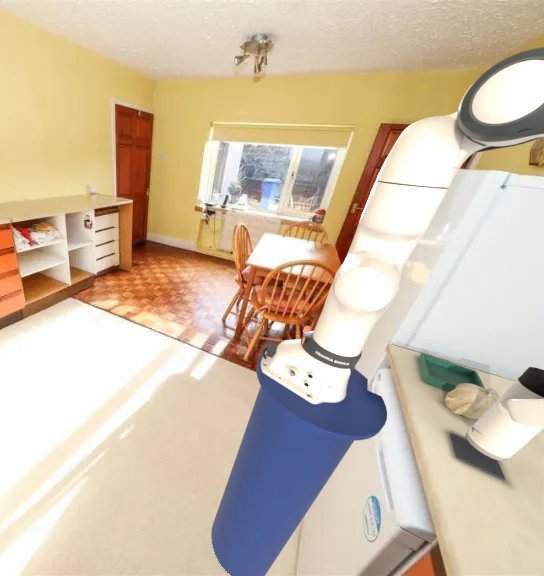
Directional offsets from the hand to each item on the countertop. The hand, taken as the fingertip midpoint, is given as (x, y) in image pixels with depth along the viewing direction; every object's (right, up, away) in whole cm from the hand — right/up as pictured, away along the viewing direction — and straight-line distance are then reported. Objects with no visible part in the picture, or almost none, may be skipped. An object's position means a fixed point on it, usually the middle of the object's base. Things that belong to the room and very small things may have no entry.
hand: (519, 407), depth 51 cm
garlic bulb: (+7, -9, +17) cm, 20 cm away
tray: (+15, -4, +27) cm, 31 cm away
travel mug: (-1, -11, +5) cm, 12 cm away
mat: (-1, -13, +6) cm, 15 cm away
